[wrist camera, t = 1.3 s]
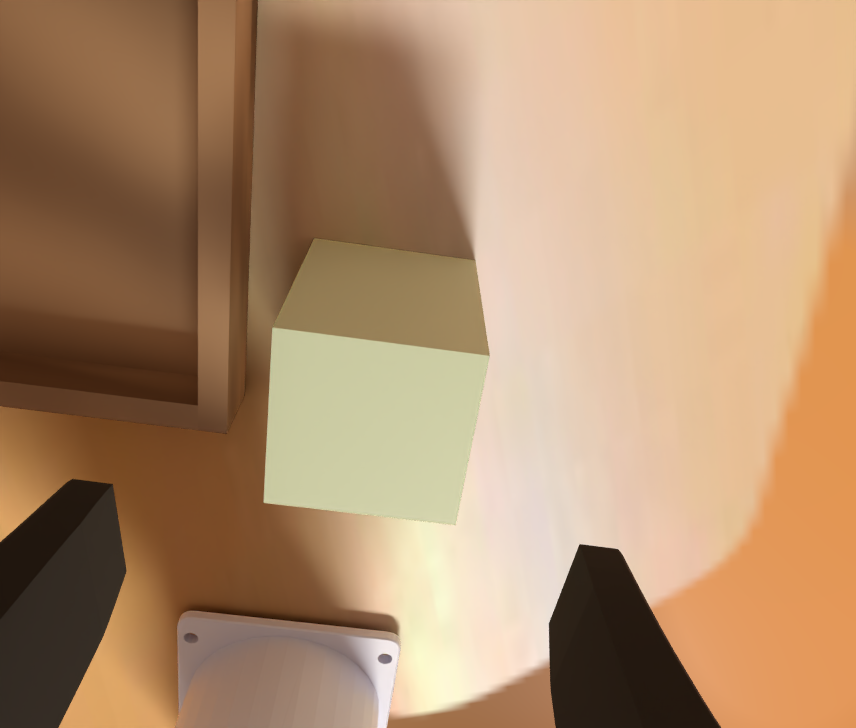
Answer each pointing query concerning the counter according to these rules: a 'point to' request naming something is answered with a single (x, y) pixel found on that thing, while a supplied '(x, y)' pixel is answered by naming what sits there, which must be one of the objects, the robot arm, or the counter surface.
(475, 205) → the counter surface
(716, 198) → the counter surface
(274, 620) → the robot arm
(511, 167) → the counter surface
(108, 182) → the walnut tray
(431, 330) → the sage block
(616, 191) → the counter surface
